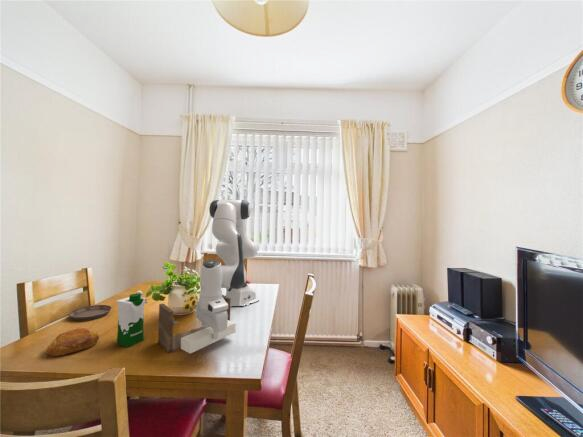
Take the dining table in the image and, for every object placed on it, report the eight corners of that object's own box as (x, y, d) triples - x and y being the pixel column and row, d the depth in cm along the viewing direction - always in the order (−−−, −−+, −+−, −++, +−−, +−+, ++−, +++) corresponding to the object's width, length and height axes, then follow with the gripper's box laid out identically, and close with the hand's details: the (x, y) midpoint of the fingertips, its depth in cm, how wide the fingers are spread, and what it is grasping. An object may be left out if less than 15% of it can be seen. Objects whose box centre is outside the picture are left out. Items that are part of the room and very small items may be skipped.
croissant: (98, 353, 102) (102, 333, 102) (45, 362, 91) (50, 339, 92) (94, 339, 112) (98, 321, 113) (45, 345, 101) (50, 325, 102)
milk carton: (127, 348, 101) (128, 298, 101) (112, 344, 104) (113, 295, 105) (147, 339, 109) (148, 292, 109) (132, 335, 113) (133, 290, 113)
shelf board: (226, 328, 114) (226, 319, 114) (235, 332, 111) (235, 323, 111) (180, 348, 96) (181, 338, 96) (190, 353, 93) (190, 342, 93)
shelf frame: (216, 324, 126) (217, 292, 126) (229, 332, 118) (230, 298, 118) (158, 342, 107) (159, 304, 107) (168, 353, 99) (169, 311, 99)
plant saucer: (119, 312, 140) (119, 307, 140) (84, 324, 123) (84, 318, 123) (96, 308, 145) (96, 303, 145) (60, 319, 128) (60, 313, 128)
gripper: (192, 296, 109) (191, 328, 109) (215, 310, 94) (215, 347, 94) (206, 293, 113) (205, 324, 113) (230, 306, 99) (229, 341, 99)
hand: (210, 334), depth 104 cm, fingers closed on shelf board, 6 cm apart
